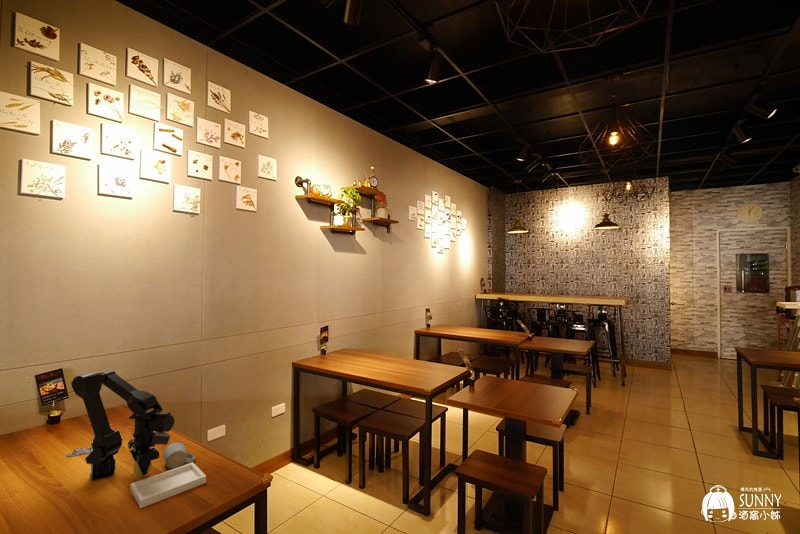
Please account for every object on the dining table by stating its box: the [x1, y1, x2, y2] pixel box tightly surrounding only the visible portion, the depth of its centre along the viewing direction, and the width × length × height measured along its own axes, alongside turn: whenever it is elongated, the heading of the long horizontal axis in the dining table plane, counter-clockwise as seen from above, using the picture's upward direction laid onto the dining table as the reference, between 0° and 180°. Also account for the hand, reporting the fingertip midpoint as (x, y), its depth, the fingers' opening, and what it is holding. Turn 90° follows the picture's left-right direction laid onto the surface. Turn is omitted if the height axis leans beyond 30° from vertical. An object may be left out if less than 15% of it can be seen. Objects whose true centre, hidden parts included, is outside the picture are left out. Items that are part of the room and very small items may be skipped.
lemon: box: [133, 461, 153, 479], centre depth 136 cm, size 6×6×8 cm
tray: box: [130, 461, 207, 509], centre depth 130 cm, size 20×14×2 cm
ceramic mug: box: [162, 442, 196, 470], centre depth 146 cm, size 11×8×8 cm
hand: (142, 471), depth 136 cm, fingers closed on lemon, 5 cm apart
